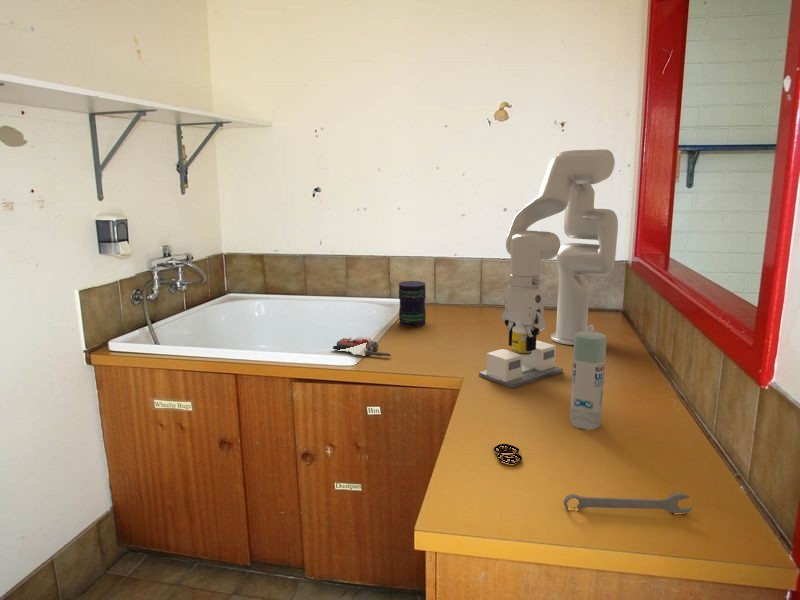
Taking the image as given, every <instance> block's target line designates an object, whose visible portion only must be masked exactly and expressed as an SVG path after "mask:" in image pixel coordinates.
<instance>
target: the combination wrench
mask: <svg viewBox="0 0 800 600" xmlns="http://www.w3.org/2000/svg"><path fill="white" fill-rule="evenodd" d="M690 498H691V496H690V495H689V494H687V493H681V492H675V493H674V492H673V493H672V494H670V495H669V496H667V497H666V498H663V499H653V498H651V499H650V498H649V499H647V498H646V499H645V498H626V497H625V498H622V497H621V498H619V497H614V498H613V497H596V496H595V497H591V496H589V497H588V496H581V495H577V494H575V493H571V494H567V495H566V496H565V498H564V499H563V506H564V507H565V509H566V510H567V509H568V507H569V506H568V502H569V501H571V499H576V500H578V504H577V509H580V510H582V509H586V508H596V509H597V508H604V509H605V508H606V509H647V510H649V509H651V510H653V509H654V510H655V509H657V510H664V511H665V512H669V513H671V512H673V513H682V514H683V513H685V515H687V514H688V513H690V512H691V511H693V509H694V508H693V506H688V507H687V506H686V507H679V501H682V500H687V499H690ZM686 513H687V514H686Z"/></svg>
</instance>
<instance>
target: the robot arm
mask: <svg viewBox="0 0 800 600" xmlns="http://www.w3.org/2000/svg"><path fill="white" fill-rule="evenodd" d="M614 156H615V155H614V154H613V153H612V151H611V150H609V149H572V150H565V151H562V152H559V153H557V154H556V156H554V157H553V158H552V159H551V160H550V162H549V164H548V167H547V169H546V173H545V175H544V178H543V181H542V183H541V186H540V189H539V191H538V195H537V196H536V197H535V198H534V199H532V200H531V201H530V202H529V203H527V204H526V205H525V206H524V207H522V209H520V211H518V212H517V214H516V215H515V216H514V218H513V220H512V222H511V225H510V227H509V230H508V233H507V236H506V241H505V248H506V252H507V253H508V254H509V256H510V267H509V268H510V271H509V272H510V273H509V274H510V275H509V285H508V288H507V292H506V296H505V308H504V311H503V312H502V313H501V315H500V318H501V319H502V321H503V322H504V324H505V326H506V330H507V331H508V346H510V347H512V329H513V327H514V326H516V324H515V322H516V321H519V323H520V324H523V325H526V326H527V331H528V336H527V338H526V351H532V350H535V349H536V340H537V336H539V335H540V334H541V332H542V331H543V330H545V329H546V328H547V326H548V324H547V323H546V321H545V318H544V317H545V314H544V313H545V309H544V307H545V305H544V294H543V289H542V287H540V286H541V285H542V283H543V282H542V279H540V271H541V260H543V261H545V260H546V261H547V260H552V259H554V258H555V257H556V264H557V265H556V266H557V276H558V277H557V278H558V287H557V289H558V290H557V307H556V309H557V310H556V328H555V332H553V333H551V335H550V340H552V341H553V342H556V343H557V344H562V345H566V346H568V345H569V346H574V336H575V334H576V333H577V332H582V331H592V332H594V330H595V326H594V325H593V324H590V325H588V318H589V317H588V316H589V301H590V300H589V299H590V298H589V297H590V286H589V283H588V281H587V279H586V277H585V276H584V275H588V276H590V275H591V276H598V277H599V276H600V277H601V276H602V277H604V276H609V275H611V274H612V272H613V271H614V268H615V263H616V254H617V243H618V242H617V241H618V230H619V220H618V216H617V214H616V212H615V211H614V210H613V209H612V210H611V209H609V208H608V209H607V208H595V194H596V193H595V189H594V188H593V186H592V185H596V184H599V183H601V182H603V181H606V180H607V179H609V178H610V176H611V175H612V174H613V171H614V169H615V164H616V163H615V157H614ZM561 212H564V220H563V221H564V222H563V230H564V235H565V236H566V237H568V238H571V239H577V240H589V241H590V240H591V241H594V240H595V241H598V244H593V243H582V242H581V243H580V242H579V243H578V242H577V243H576V242H569V243H564V244H562V245H561V240H560V238H559V236H558V235H557V234H556V233H554V232H551V231H543V230H542V231H541V230H528V229H529V228H530V227H531V226H532V225H533V224H535V223H536V222H538V221H541V220H544V219H546V218H547V219H548V218H549V217H553V216H554V215H557V214H559V213H561ZM532 329H533V331H532Z"/></svg>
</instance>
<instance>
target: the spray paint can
mask: <svg viewBox="0 0 800 600" xmlns="http://www.w3.org/2000/svg"><path fill="white" fill-rule="evenodd" d="M607 341H608V339H607V335H606V334H604V333H601V332H598V331H582V332H577V333H576V334H575V336H574V345H573V354H572V356H573V357H572V376H571V394H570V395H571V396H570V397H571V398H570V419H569V423H570V424H571V426H572V427H575V428H577V429H579V430H585V431H592V430H597V429H599V428H600V426H601V419H602V418H601V417H602V406H603V396H604V395H603V394H604V392H603V391H604V382H605V381H604V380H605V366H606V352H607Z"/></svg>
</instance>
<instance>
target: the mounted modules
mask: <svg viewBox="0 0 800 600" xmlns="http://www.w3.org/2000/svg"><path fill="white" fill-rule="evenodd" d="M556 352H557V345H555V344H552V343H548V342H546V341H545V342H544V341H541V340H537V339H536V349H535V350H532V354H531V355H530V356H526V357H522V355H520V354H517V353H514V352H512V350H511V351H510V350H507V349H505V348H504V349H503V348H502V349H497V350H493V351H490V352H486V368H485V370H486V375H489V376H490V375H494V376H496V377H499V378H501V380H502V381H505V382H507V381H510V380H513V379H517V378H520V377H522V365H525V364H527V365H530V366H532V367H535V368H536V370H539V371H542V370H545V369H549V368H552V367H555V366H556V357H557V356H556Z"/></svg>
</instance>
